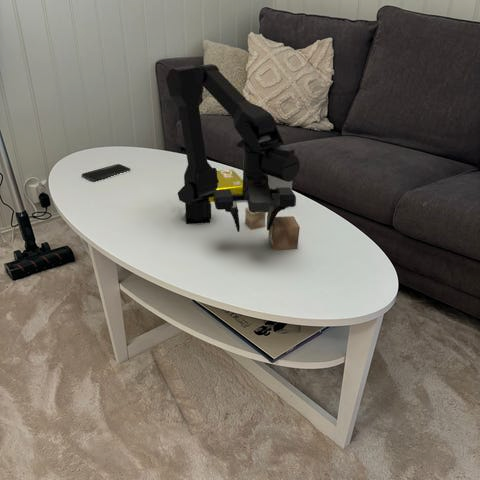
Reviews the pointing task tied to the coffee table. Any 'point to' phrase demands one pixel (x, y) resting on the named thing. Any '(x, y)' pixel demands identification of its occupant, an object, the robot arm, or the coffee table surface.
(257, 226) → the oak block
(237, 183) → the element tile
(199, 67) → the robot arm
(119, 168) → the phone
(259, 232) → the coffee table surface
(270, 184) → the cup
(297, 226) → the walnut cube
